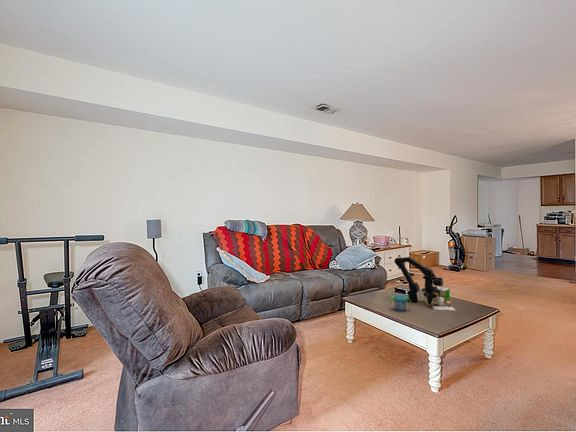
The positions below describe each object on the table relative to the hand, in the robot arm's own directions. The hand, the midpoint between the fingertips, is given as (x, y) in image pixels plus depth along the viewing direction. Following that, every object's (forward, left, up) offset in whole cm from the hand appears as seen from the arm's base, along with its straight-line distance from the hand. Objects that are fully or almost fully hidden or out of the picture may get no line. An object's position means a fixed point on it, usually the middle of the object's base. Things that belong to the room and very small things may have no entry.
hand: (428, 303), depth 229 cm
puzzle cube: (+14, +13, -1) cm, 19 cm away
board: (+8, -9, -1) cm, 12 cm away
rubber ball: (+15, 0, -1) cm, 15 cm away
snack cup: (-25, -16, -1) cm, 30 cm away
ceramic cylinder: (+9, 0, -1) cm, 9 cm away
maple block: (0, 0, -1) cm, 1 cm away
